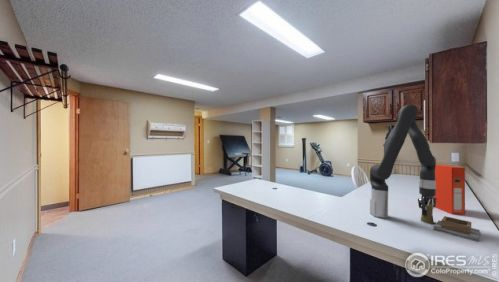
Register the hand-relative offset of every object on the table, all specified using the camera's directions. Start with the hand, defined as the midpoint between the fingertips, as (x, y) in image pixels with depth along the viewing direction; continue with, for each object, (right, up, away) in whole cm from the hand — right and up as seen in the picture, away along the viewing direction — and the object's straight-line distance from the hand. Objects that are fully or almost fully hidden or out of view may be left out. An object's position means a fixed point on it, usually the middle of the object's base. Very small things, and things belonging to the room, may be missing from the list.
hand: (427, 214), depth 119 cm
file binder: (+34, -5, +22) cm, 41 cm away
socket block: (+4, -4, -13) cm, 14 cm away
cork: (0, -4, 0) cm, 4 cm away
